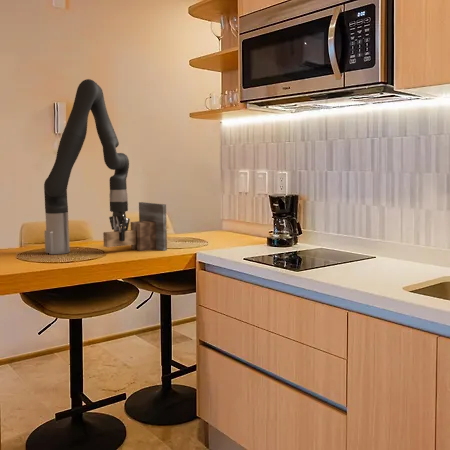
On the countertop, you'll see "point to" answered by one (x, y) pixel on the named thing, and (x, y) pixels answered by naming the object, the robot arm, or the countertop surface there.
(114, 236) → the rail
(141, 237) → the slotted block base plate
